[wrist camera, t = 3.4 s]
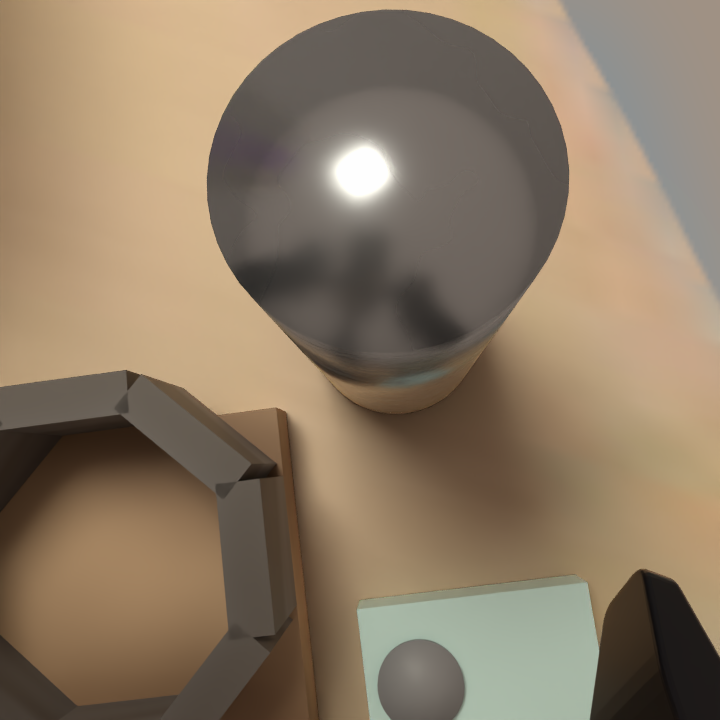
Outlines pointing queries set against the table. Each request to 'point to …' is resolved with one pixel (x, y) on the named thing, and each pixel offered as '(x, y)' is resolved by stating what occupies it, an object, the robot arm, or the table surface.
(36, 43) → the table surface
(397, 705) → the mint green knobbed plate
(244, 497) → the brown board with ring
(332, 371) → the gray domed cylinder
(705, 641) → the robot arm
